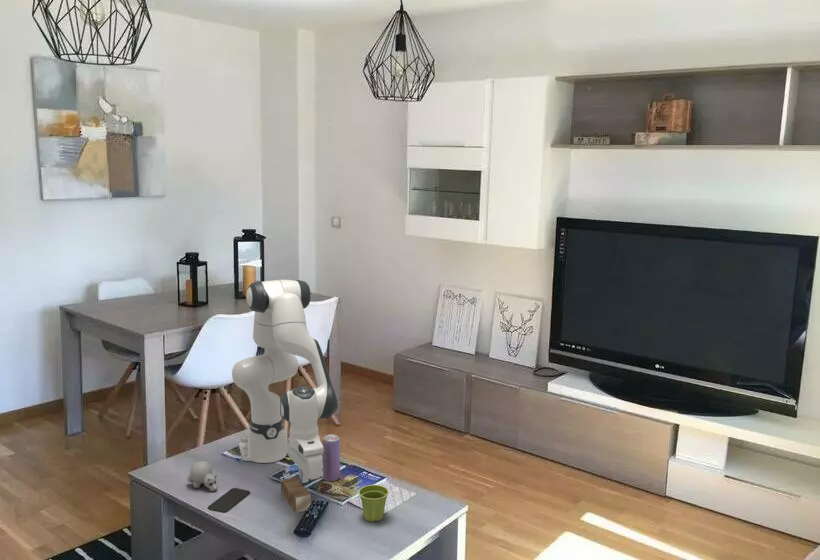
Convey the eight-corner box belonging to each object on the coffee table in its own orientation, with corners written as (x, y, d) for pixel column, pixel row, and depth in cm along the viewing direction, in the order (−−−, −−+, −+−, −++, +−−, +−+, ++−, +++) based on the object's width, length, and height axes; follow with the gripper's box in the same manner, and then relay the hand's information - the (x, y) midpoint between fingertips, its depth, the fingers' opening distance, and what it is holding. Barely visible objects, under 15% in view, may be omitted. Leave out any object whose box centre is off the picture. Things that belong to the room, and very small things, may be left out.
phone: (205, 508, 227) (232, 487, 241) (205, 510, 227) (232, 489, 241) (225, 512, 224) (251, 491, 238) (225, 514, 224) (251, 493, 238)
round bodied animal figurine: (204, 502, 236) (209, 483, 233) (183, 480, 242) (187, 461, 238) (221, 494, 242) (227, 475, 238) (200, 472, 247) (205, 453, 244)
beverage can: (336, 482, 246) (337, 441, 244) (320, 480, 248) (320, 440, 245) (341, 475, 252) (342, 435, 250) (325, 473, 253) (325, 433, 251)
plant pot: (378, 527, 218) (378, 501, 216) (352, 519, 222) (352, 493, 221) (393, 514, 226) (394, 489, 224) (368, 507, 230) (369, 482, 229)
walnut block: (296, 512, 226) (281, 494, 238) (311, 509, 228) (295, 491, 240) (296, 498, 225) (281, 480, 237) (310, 494, 227) (295, 477, 239)
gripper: (282, 429, 229) (283, 469, 232) (306, 453, 212) (306, 496, 214) (301, 426, 232) (301, 465, 235) (325, 449, 215) (325, 491, 217)
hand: (304, 480), depth 224 cm, fingers closed
